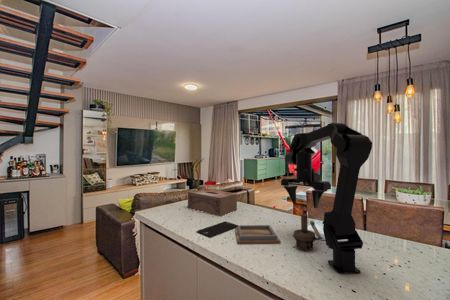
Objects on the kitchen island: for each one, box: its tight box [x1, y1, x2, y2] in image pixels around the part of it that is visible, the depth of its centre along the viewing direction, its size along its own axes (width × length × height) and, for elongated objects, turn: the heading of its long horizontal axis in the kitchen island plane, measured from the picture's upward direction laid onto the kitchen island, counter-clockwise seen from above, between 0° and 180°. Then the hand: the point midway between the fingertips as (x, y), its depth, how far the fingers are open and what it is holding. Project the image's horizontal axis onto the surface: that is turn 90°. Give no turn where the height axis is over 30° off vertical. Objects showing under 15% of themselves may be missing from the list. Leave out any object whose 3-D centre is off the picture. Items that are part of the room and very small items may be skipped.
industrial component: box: [292, 213, 318, 251], centre depth 79 cm, size 9×7×12 cm
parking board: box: [234, 228, 282, 245], centre depth 89 cm, size 14×16×1 cm
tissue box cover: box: [187, 188, 238, 217], centre depth 129 cm, size 26×14×10 cm, turn 51°
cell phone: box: [196, 220, 238, 239], centre depth 97 cm, size 9×18×1 cm, turn 136°
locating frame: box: [236, 224, 278, 240], centre depth 89 cm, size 12×14×2 cm
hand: (304, 205), depth 85 cm, fingers open, 9 cm apart
